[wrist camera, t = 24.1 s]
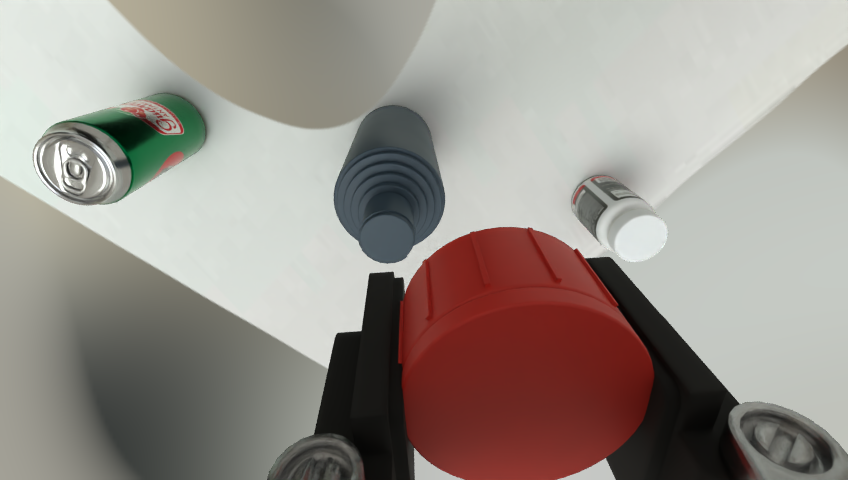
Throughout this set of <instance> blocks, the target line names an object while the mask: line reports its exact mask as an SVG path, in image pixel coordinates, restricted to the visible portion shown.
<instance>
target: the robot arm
mask: <svg viewBox="0 0 848 480" xmlns="http://www.w3.org/2000/svg"><path fill="white" fill-rule="evenodd" d="M585 260H586V261H587V262H588V264H589V265H590V267H591V268H592V269H593V271H594V272H595V273H596V275H597V276H598V277H599V279H600V280H601V282H602V283H603V284H604V286H605V287H606V288H607V290H608V291H609V292H610V294H611V295H612V297H613V298H614V299H615V301H616V302H617V303H618V306H617V308H618V309H619V311H620V312H621V313H622V315H623V316H624V317H625V319H626V320H627V322H628V323H629V324H630V326H631V327H632V329H633V330H634V331H635V333H636V334H637V335H638V337H639V338H640V340H641V341H642V343H643V344H644V346H645V347H646V349H647V351H648V353H649V355H650V358H651V360H652V365H653V369H654V381H653V387H652V390H651V394H650V398H649V402H648V406H647V410H646V413H645V416H644V419H643V421H642V423H641V424H640V426H639V427H638V428H637V430H636V431H635V432H634V434H633V435H632V436H631V437H630V438H629V439H628V440H627V441H626V442H625V443H624V444H623V445H622V446H621V447H619V448H618V449H617V450H616V451H615V452H613V453H612V454H610V455H609V456H608V457H606V459H607V461H608V464H609V466H610V468H611V470H612V472H613V474H614V477H615V479H616V480H848V454H847V453H846V452H845V451H844V449H843V448H842V447H841V446H840V444H839V443H838V442H837V441H836V440H835V439H834V438H832V436H831V435H830V434H829V433H828V432H827V431H826V430H824V429H823V428H822V427H820V426H819V425H817V424H815V423H814V422H813V421H812V420H810V419H809V418H807V417H805V416H803V415H800V414H799V413H797V412H795V411H793V410H790V409H787V408H784V407H781V406H778V405H775V404H770V403H764V402H745V403H742V404H739V403H738V402H737V400H736V399H735V398H734V397H733V396H732V395H731V393H730V392H729V391H728V390H727V389H726V388H725V387H724V385H723V384H722V383H721V382H720V381H719V380H718V379H717V378H716V376H715V375H714V374H713V373H712V372H711V371H710V369H709V368H708V367H707V366H706V365H705V364H704V363H703V361H701V359H700V358H699V357H698V356H697V355H696V354H695V352H694V351H693V350H692V349H691V348H690V347H689V345H688V344H687V343H686V342H685V341H684V340H683V339H682V337H681V336H680V335H679V334H678V333H677V332H676V331H675V330H674V328H673V327H672V326H671V325H670V324H669V323H668V321H667V320H666V319H665V318H664V317H663V316H662V315H661V314H660V313H659V312H658V311H657V310H656V308H655V307H654V306H653V305H652V304H651V303H650V302H649V300H648V299H647V298H646V297H645V296H644V295H643V294H642V292H641V291H640V290H639V289H638V288H637V287H636V286H635V284H633V282H632V281H631V280H630V279H629V278H628V276H627V275H626V274H625V273H624V272H623V271H622V270H621V268H620V267H619V266H618V265H617V264H616V263H615V262H614V260H613V259H611V258H610V257H600V258H585ZM404 296H405V290H404V280H403V277H401V278H395V277H394V272H383V273H370V274H369V280H368V288H367V295H366V303H365V310H364V317H363V325H362V331H358V332H344V333H337V335H336V337H335V340H334V345H333V350H332V354H331V359H330V363H329V368H328V373H327V377H326V383H325V387H324V391H323V396H322V400H321V406H320V410H319V414H318V419H317V424H316V428H315V433H314V435H312V436H309V437H306V438H303V439H301V440H299V441H298V442H296V443H294V444H293V445H291V446H290V447H288V448H287V449H286V450H285V451H284V452H283V453H282V454H281V455H280V456H279V457H278V458H277V460H276V462H275V464H274V465H273V466H272V468H271V470H270V471H269V474H268V478H267V480H415V479H414V478H415V476H414V447H413V445H412V444H411V442H410V440H409V439H408V436H407V428H406V418H405V409H404V400H403V390H402V388H401V387H402V371H403V368H402V363H401V364H398V350H399V323H400V301H403V300H404ZM402 347H403V346H402Z"/></svg>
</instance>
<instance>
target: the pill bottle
mask: <svg viewBox="0 0 848 480" xmlns="http://www.w3.org/2000/svg"><path fill="white" fill-rule="evenodd" d="M572 209H573V213H574V214H575V216H576V217H577V219H578V220H579V221H580V222H581V223H582V224H583V225H584V226H585V227H586V228H587V229H588V231H589V232H590V233H591V234H592V235H593V236H594V237H595V238H596V239H597V241H598V242H599V243H600V244H601V245H602V246H603V247H604V248H606V249H608V250H609V251H612V252H615V253H616V254H618V256H619V257H620V258H622V259H624V260H626V261H629V262H640V261H644V260H647V259H649V258H651V257H653V256H654V255H656V254H657V253H658V252H659V251H660V250H661V249H662V247H663V246H664V244H665V242H666V240H667V237H668V229H667V226H666V224H665V222H664V221H663V220H662V219H661V218H660V217H659V216H658V215H656V214H655V211H654V209H653V208H652V206H651V205H650V204H648V203H647V202H646V201H645V200H643V199H642V198H640V197H639V196H638V195H636V194H635V193H633V192H632V191H631V190H629V189H628V188H627V187H625V186H624V185H623V184H621V183H620V182H618V181H617V180H615V179H614V178H612V177H609V176H595V177H592V178H590V179H588V180H586V181H584V182H583V183H582V184H581V185H580V186H579V187H578V188H577V189H576V191H575V193H574V195H573V198H572Z"/></svg>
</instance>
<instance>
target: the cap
mask: <svg viewBox="0 0 848 480" xmlns="http://www.w3.org/2000/svg"><path fill="white" fill-rule="evenodd" d="M422 263H423V264H422V265H421V267H420V268H419V269H418V270H417V272H416V273H415V275H414V276H413V278H412V279H411V281H410V283H409V285H408V288H407V290H406V293H405V296H404V300H403V301H400V323H399V350H398V364H401V363H402V368H403V371H402V387H401V388H402V390H403V400H404V409H405V418H406V428H407V436H408V439H409V440H410V442H411V444H412V445H413V447H414V448H415V449H416V450H417V451H418V452H419V453H420V454H421V456H423V457H424V458H425V459H426V460H427V461H429V462H430V463H431V464H433V465H434V466H436V467H437V468H439V469H441V470H442V471H445V472H447V473H449V474H451V475H453V476H456V477H459V478H462V479H464V480H557V479H560V478H564V477H566V476H569V475H572V474H575V473H578V472H580V471H582V470H584V469H586V468H589V467H591V466H592V465H594V464H596V463H598V462H599V461H601V460H603V459H605V458H606V457H608V456H609V455H610V454H612V453H613V452H615V451H616V450H617V449H618V448H619V447H621V446H622V445H623V444H624V443H625V442H626V441H627V440H628V439H629V438H630V437H631V436H632V435H633V434H634V432H635V431H636V430H637V428H638V427H639V426H640V424H641V423H642V421H643V419H644V416H645V413H646V410H647V406H648V402H649V398H650V394H651V390H652V387H653V381H654V369H653V365H652V360H651V358H650V355H649V353H648V351H647V349H646V347H645V346H644V344H643V343H642V341H641V340H640V338H639V337H638V335H637V334H636V333H635V331H634V330H633V329H632V327H631V326H630V324H629V323H628V322H627V320H626V319H625V317H624V316H623V315H622V313H621V312H620V311H619V309H618V308H617V306H618V303H617V302H616V301H615V299H614V298H613V297H612V295H611V294H610V292H609V291H608V290H607V288H606V287H605V286H604V284H603V283H602V282H601V280H600V279H599V277H598V276H597V275H596V273H595V272H594V271H593V269H592V268H591V267H590V265H589V264H588V262H587V261H586V260H585V258H584V257H583V256H582V254H581V253H580V252H579V250H577V249H575V250H573V249H572V248H571V247H569V246H568V245H567V244H565V243H564V242H562V241H560V240H559V239H557V238H555V237H553V236H550V235H548V234H545V233H543V232H539V231H535V230H533V229H532V228H529V227H528V229H526V228H517V227H498V228H491V229H484V230H480V231H476V232H474V231H473V232H470V234H467V235H464V236H462V237H459V238H457V239H455V240H453V241H452V242H450V243H448V244H446V245H445V246H443V247H442V248H440V249H439V250H437V251H436V252H435V253H434V254H433V255H431V256H430V257H429V258H428V259H427V260H426V259H425V260H424V261H423V262H422ZM402 346H403V347H402Z"/></svg>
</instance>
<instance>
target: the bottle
mask: <svg viewBox="0 0 848 480" xmlns="http://www.w3.org/2000/svg"><path fill="white" fill-rule="evenodd" d="M334 205H335V210H336V213H337V216H338V218H339V220H340V222H341V224H342V225H343V227H344V228H345V229H346V231H347V232H348V233H349V234H350V235H351V236H353V237H354V238H355V239H356V240H358V241H359V245H360V247H361V248H362V251H363V252H364V253H365V254H366V255H367V256H368V257H370V258H371V259H373V260H375V261H378V262H380V263H387V264H388V263H396V262H399V261H402V260H403V259H405V258H406V257H407V255H408V254H409V252H410V251H411V249H412V247H413V246H414V245H416V244H418V243H419V242H421V241H423V240H424V239H425V238H427V237H428V236H429V235H430V234H431V233H432V232H433V231H434V229H435V228H436V227H437V225H438V224H439V222H440V220H441V217H442V215H443V211H444V206H445V192H444V187H443V183H442V179H441V175H440V170H439V166H438V162H437V158H436V154H435V150H434V146H433V142H432V138H431V134H430V131H429V128H428V126H427V124H426V123H425V121H424V120H423V119H422V118H421V117H420V116H419V115H418V114H417V113H415V112H414V111H412V110H410V109H408V108H406V107H402V106H395V105H392V106H384V107H381V108H378V109H376V110H374V111H373V112H371V113H370V114H369V115H368V116H366V118H365V119H364V120H363V121H362V123H361V125H360V127H359V129H358V131H357V134H356V136H355V138H354V141H353V143H352V145H351V148H350V150H349V153H348V155H347V157H346V160H345V162H344V164H343V167H342V169H341V172H340V174H339V176H338V179H337V182H336V185H335V190H334Z"/></svg>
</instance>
